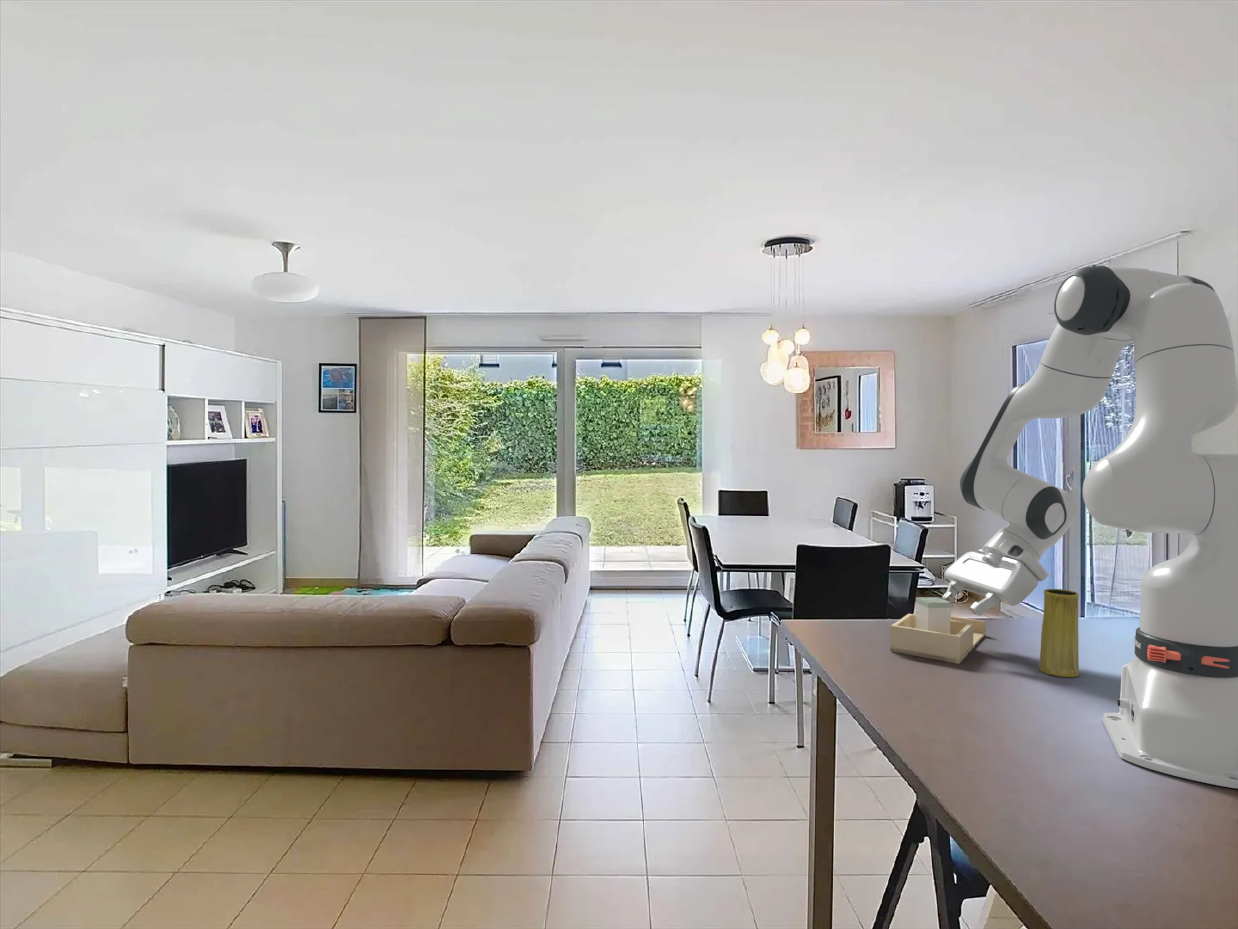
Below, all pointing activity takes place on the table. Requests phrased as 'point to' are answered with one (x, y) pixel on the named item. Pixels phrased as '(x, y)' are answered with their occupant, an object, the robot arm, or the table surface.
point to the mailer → (936, 639)
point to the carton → (933, 614)
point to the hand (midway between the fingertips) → (959, 606)
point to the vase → (1060, 634)
